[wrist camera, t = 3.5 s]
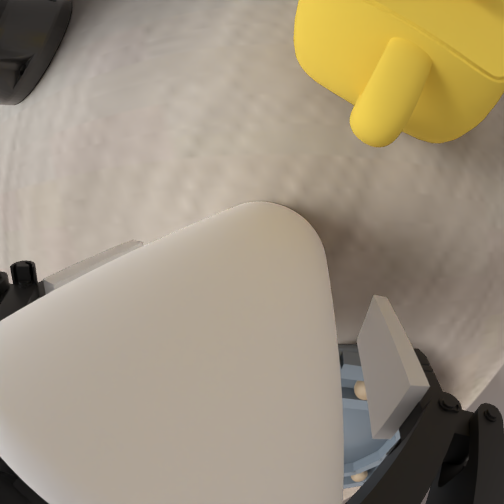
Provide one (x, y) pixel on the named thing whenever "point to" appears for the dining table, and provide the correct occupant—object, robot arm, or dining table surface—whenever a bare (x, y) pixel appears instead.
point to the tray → (358, 423)
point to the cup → (182, 372)
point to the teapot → (406, 63)
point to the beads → (361, 394)
